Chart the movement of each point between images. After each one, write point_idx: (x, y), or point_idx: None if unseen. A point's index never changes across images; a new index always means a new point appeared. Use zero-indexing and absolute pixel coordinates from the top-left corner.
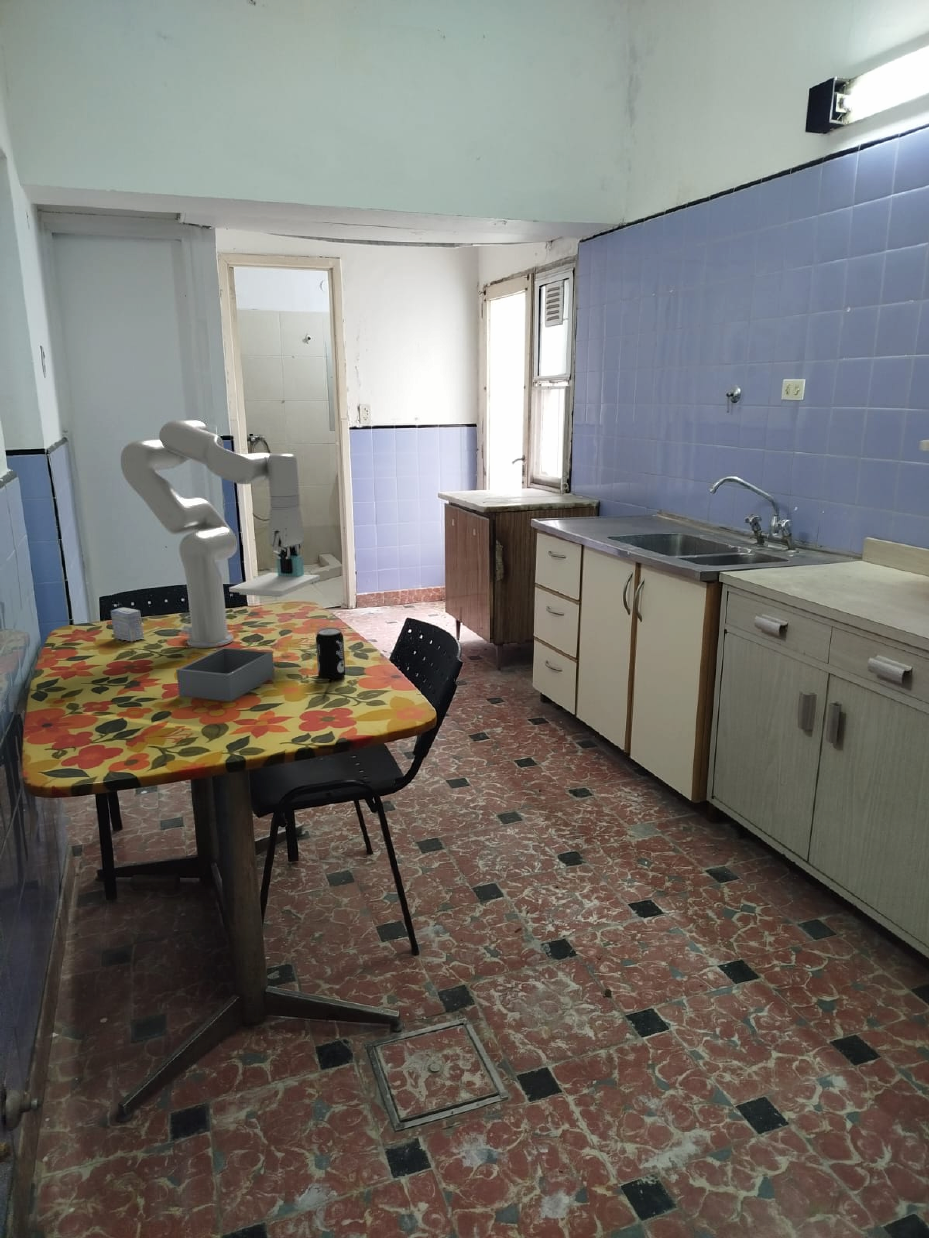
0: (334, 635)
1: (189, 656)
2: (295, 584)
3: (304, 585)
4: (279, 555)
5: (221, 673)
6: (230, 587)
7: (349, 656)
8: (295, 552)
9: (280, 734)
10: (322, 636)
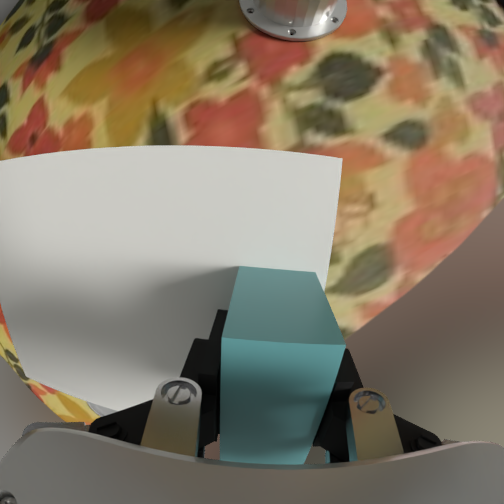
0: (100, 412)
1: (181, 16)
2: (102, 402)
3: None
4: (128, 416)
5: None
6: None
7: None
8: (332, 454)
9: (5, 337)
10: None
